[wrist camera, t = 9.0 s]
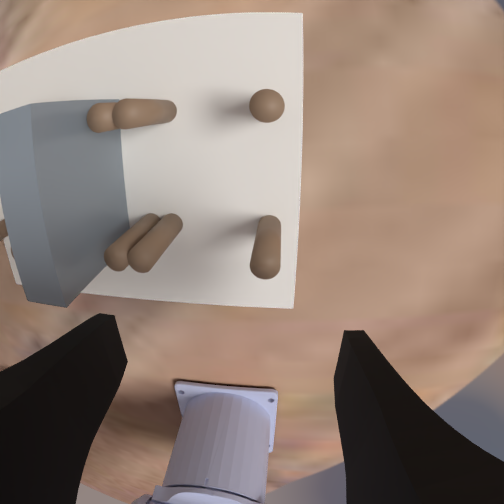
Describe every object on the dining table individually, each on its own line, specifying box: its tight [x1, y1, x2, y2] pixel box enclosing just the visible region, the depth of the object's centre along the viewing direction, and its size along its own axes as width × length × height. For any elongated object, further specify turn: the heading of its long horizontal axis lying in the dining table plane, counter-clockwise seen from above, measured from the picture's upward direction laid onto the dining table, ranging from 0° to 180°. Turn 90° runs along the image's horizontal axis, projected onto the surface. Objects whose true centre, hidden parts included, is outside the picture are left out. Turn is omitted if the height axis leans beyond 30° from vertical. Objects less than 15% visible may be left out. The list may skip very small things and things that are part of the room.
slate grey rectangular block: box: [0, 99, 130, 308], centre depth 13 cm, size 8×2×7 cm, turn 0°
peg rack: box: [0, 12, 303, 309], centre depth 15 cm, size 16×21×6 cm
